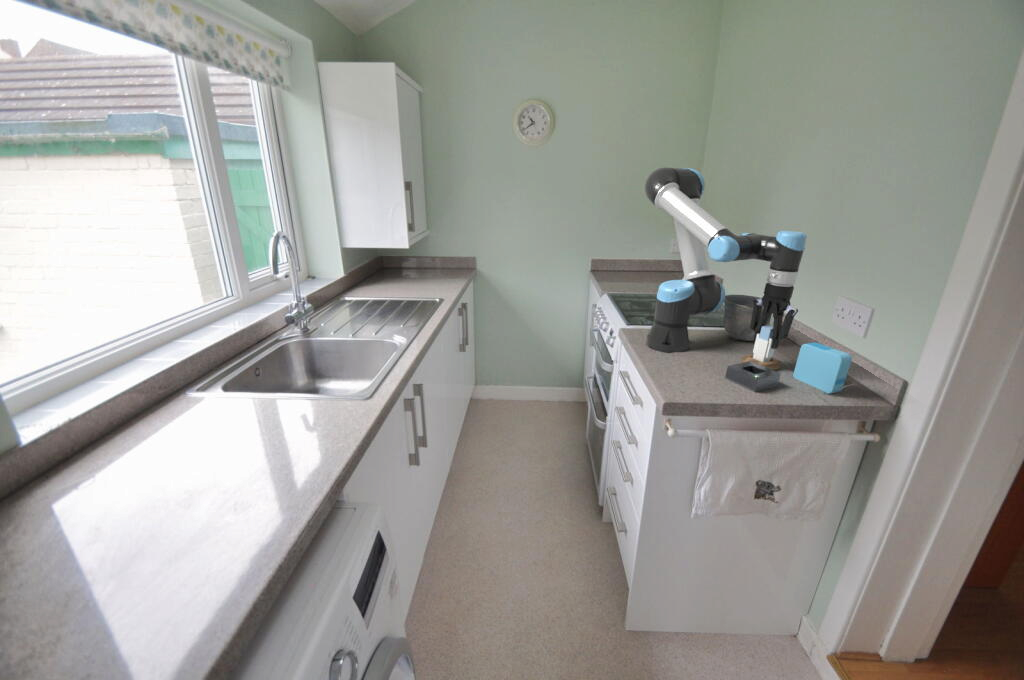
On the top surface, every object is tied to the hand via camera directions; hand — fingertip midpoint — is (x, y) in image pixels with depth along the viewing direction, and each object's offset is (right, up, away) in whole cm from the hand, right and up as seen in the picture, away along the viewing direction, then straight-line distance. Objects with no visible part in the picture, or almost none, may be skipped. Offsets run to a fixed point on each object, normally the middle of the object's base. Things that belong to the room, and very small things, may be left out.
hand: (762, 354), depth 140 cm
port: (-10, -8, -10) cm, 16 cm away
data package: (+10, -9, -11) cm, 17 cm away
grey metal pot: (+8, +5, +28) cm, 29 cm away
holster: (0, -4, +1) cm, 4 cm away
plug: (0, -3, +1) cm, 4 cm away
